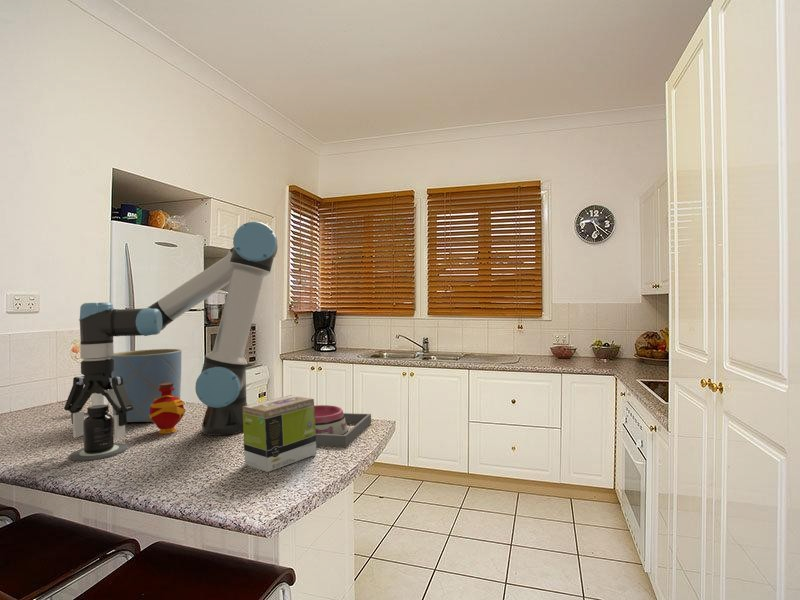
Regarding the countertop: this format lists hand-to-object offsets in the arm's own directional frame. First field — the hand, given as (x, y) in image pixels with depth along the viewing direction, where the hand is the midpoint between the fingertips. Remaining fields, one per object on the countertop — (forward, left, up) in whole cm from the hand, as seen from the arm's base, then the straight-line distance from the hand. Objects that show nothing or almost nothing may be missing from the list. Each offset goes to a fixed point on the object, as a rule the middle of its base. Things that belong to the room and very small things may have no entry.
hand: (99, 437), depth 122 cm
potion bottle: (-4, -21, -4) cm, 22 cm away
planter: (+17, -36, -5) cm, 40 cm away
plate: (0, 0, -4) cm, 4 cm away
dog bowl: (-53, -27, -5) cm, 59 cm away
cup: (+44, -42, -4) cm, 61 cm away
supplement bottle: (0, 0, -4) cm, 4 cm away
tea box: (-53, -2, -5) cm, 53 cm away
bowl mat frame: (-54, -26, -4) cm, 60 cm away
